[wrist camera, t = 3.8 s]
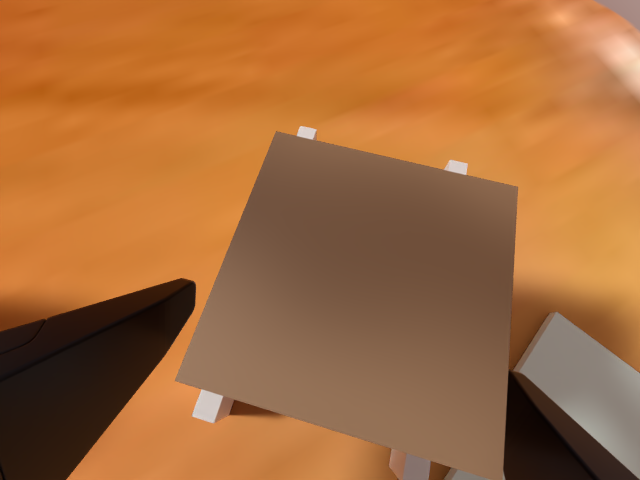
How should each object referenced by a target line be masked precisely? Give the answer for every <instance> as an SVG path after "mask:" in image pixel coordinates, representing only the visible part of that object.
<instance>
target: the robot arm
mask: <svg viewBox="0 0 640 480" xmlns="http://www.w3.org/2000/svg"><path fill="white" fill-rule="evenodd" d="M195 297H196V284H195V282H194V281H191V280H187V279H184V278H180V279H177V280H173V281H170V282H167V283H163V284H160V285H156V286H153V287H150V288H146V289H143V290H140V291H136V292H133V293H130V294H126V295H123V296H119V297H116V298H113V299H109V300H106V301H103V302H99V303H96V304H93V305H89V306H86V307H82V308H79V309H76V310H72V311H69V312H66V313H62V314H59V315H56V316H52V317H49V318H47V320H46V319H42V320H39V321H35V322H32V323H29V324H25V325H22V326H18V327H15V328H11V329H8V330H4V331H1V332H0V480H66V479H67V478H68V477H69V476H70V474H71V473H72V472H73V470H74V469H75V468H76V467H77V465H78V464H79V463H80V462H81V460H82V459H83V458H84V457H85V455H86V454H87V453H88V452H89V450H90V449H91V448H92V447H93V445H94V444H95V443H96V442H97V440H98V439H99V438H100V437H101V435H102V434H103V433H104V432H105V430H106V429H107V428H108V426H109V425H110V424H111V423H112V421H113V420H114V419H115V418H116V416H117V415H118V414H119V413H120V411H121V410H122V409H123V408H124V406H125V405H126V404H127V403H128V401H129V400H130V399H131V398H132V396H133V395H134V394H135V393H136V391H137V390H138V389H139V388H140V386H141V385H142V384H143V382H144V381H145V380H146V379H147V377H148V376H149V375H150V374H151V372H152V371H153V370H154V369H155V367H156V366H157V365H158V364H159V362H160V361H161V360H162V358H163V357H164V356H165V354H166V353H167V351H168V350H169V349H170V347H171V345H172V344H173V342H174V341H175V339H176V338H177V336H178V334H179V333H180V331H181V330H182V328H183V327H184V325H185V323H186V322H187V320H188V319H189V317H190V315H191V314H192V312H193V310H194V307H195ZM503 472H504V476H505V480H640V479H639V478H638V477H636V476H635V475H634V474H633V473H632V472H631V471H630V470H629V469H628V468H627V467H625V466H624V465H623V464H622V463H621V462H620V461H619V460H618V459H617V458H616V457H614V456H613V455H612V454H611V453H610V452H609V451H608V450H607V449H606V448H605V447H603V446H602V445H601V444H600V443H599V442H598V441H597V440H596V439H595V438H594V437H592V436H591V435H590V434H589V433H588V432H587V431H586V430H585V429H584V428H582V427H581V426H580V425H579V424H578V423H577V422H576V421H575V420H574V419H573V418H571V417H570V416H569V415H568V414H567V413H566V412H565V411H564V410H563V409H562V408H560V407H559V406H558V405H557V404H556V403H555V402H554V401H553V400H552V399H551V398H549V397H548V396H547V395H546V394H545V393H544V392H543V391H542V390H541V389H540V388H538V387H537V386H536V385H535V384H534V383H533V382H532V381H531V380H530V379H529V378H527V377H526V376H525V375H524V374H522V373H520V372H516V371H512V370H508V386H507V405H506V424H505V443H504V463H503Z"/></svg>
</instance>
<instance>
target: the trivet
mask: <svg viewBox="0 0 640 480" xmlns="http://www.w3.org/2000/svg"><path fill="white" fill-rule="evenodd" d="M513 371H516V372H520V373H522V374H524V375H525V376H526V377H527V378H529V379H530V380H531V381H532V382H533V383H534V384H535V385H536V386H537V387H538V388H540V389H541V390H542V391H543V392H544V393H545V394H546V395H547V396H548V397H549V398H551V399H552V400H553V401H554V402H555V403H556V404H557V405H558V406H559V407H560V408H562V409H563V410H564V411H565V412H566V413H567V414H568V415H569V416H570V417H571V418H573V419H574V420H575V421H576V422H577V423H578V424H579V425H580V426H581V427H582V428H584V429H585V430H586V431H587V432H588V433H589V434H590V435H591V436H592V437H594V438H595V439H596V440H597V441H598V442H599V443H600V444H601V445H602V446H603V447H605V448H606V449H607V450H608V451H609V452H610V453H611V454H612V455H613V456H614V457H616V458H617V459H618V460H619V461H620V462H621V463H622V464H623V465H624V466H625V467H627V468H628V469H629V470H630V471H631V472H632V473H633V474H634V475H635V476H636V477H638V478H639V479H640V373H639V372H637V371H636V370H635V369H633V368H632V367H631V366H629V365H628V364H627V363H625V362H624V361H623V360H621V359H620V358H619V357H617V356H616V355H615V354H613V353H612V352H611V351H609V350H608V349H606V348H605V347H604V346H602V345H601V344H600V343H598V342H597V341H596V340H594V339H593V338H592V337H590V336H589V335H588V334H586V333H585V332H584V331H582V330H581V329H580V328H578V327H577V326H576V325H574V324H573V323H571V322H570V321H569V320H567V319H566V318H565V317H563V316H562V315H561V314H559V313H558V312H553V313H549V315H548V316H547V318H546V319H545V321H544V322H543V324H542V326H541V327H540V329H539V330H538V332H537V333H536V335H535V337H534V338H533V340H532V341H531V343H530V344H529V346H528V348H527V349H526V351H525V352H524V354H523V356H522V357H521V359H520V360H519V362H518V363H517V365H516V367H515V368H514V370H513ZM444 480H490V479H487V478H484V477H480V476H477V475H474V474H471V473H468V472H464V471H461V470H458V469H455V468H452V467H451V469H450V470H449V472H448V474H447V475H446V477H445V478H444ZM503 480H505V476H504V472H503Z"/></svg>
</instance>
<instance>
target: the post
mask: <svg viewBox="0 0 640 480" xmlns="http://www.w3.org/2000/svg"><path fill="white" fill-rule="evenodd" d="M517 196H518V187H516V186H512V185H507V184H503V183H499V182H494V181H490V180H486V179H481V178H477V177H473V176H468V175H464V174H460V173H455V172H451V171H447V170H442V169H438V168H434V167H429V166H425V165H420V164H416V163H412V162H407V161H403V160H399V159H394V158H390V157H386V156H381V155H377V154H373V153H368V152H364V151H360V150H355V149H351V148H347V147H342V146H338V145H334V144H329V143H325V142H320V141H316V140H312V139H307V138H303V137H299V136H294V135H290V134H286V133H281V132H277V131H276V133H275V135H274V138H273V140H272V143H271V145H270V148H269V150H268V152H267V155H266V157H265V160H264V162H263V165H262V167H261V170H260V172H259V175H258V177H257V180H256V182H255V184H254V187H253V189H252V192H251V194H250V197H249V199H248V202H247V204H246V207H245V209H244V212H243V214H242V216H241V219H240V221H239V224H238V226H237V229H236V231H235V234H234V236H233V239H232V241H231V244H230V246H229V248H228V251H227V253H226V256H225V258H224V261H223V263H222V266H221V268H220V271H219V273H218V276H217V278H216V280H215V283H214V285H213V288H212V290H211V293H210V295H209V298H208V300H207V303H206V305H205V308H204V310H203V312H202V315H201V317H200V320H199V322H198V325H197V327H196V330H195V332H194V335H193V337H192V340H191V342H190V344H189V347H188V349H187V352H186V354H185V357H184V359H183V362H182V364H181V367H180V369H179V372H178V374H177V376H176V379H175V381H177V382H180V383H183V384H186V385H190V386H193V387H196V388H199V389H202V390H206V391H209V392H212V393H215V394H218V395H222V396H225V397H228V398H231V399H234V400H238V401H241V402H244V403H247V404H250V405H254V406H257V407H260V408H263V409H266V410H270V411H273V412H276V413H279V414H282V415H286V416H289V417H292V418H295V419H298V420H301V421H305V422H308V423H311V424H314V425H317V426H321V427H324V428H327V429H330V430H333V431H337V432H340V433H343V434H346V435H349V436H353V437H356V438H359V439H362V440H365V441H369V442H372V443H375V444H378V445H381V446H385V447H388V448H391V449H394V450H397V451H401V452H404V453H407V454H410V455H413V456H417V457H420V458H423V459H426V460H429V461H432V462H436V463H439V464H442V465H445V466H448V467H452V468H455V469H458V470H461V471H464V472H468V473H471V474H474V475H477V476H480V477H484V478H487V479H490V480H503V463H504V443H505V424H506V405H507V386H508V367H509V348H510V329H511V310H512V291H513V272H514V253H515V234H516V215H517Z"/></svg>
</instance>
